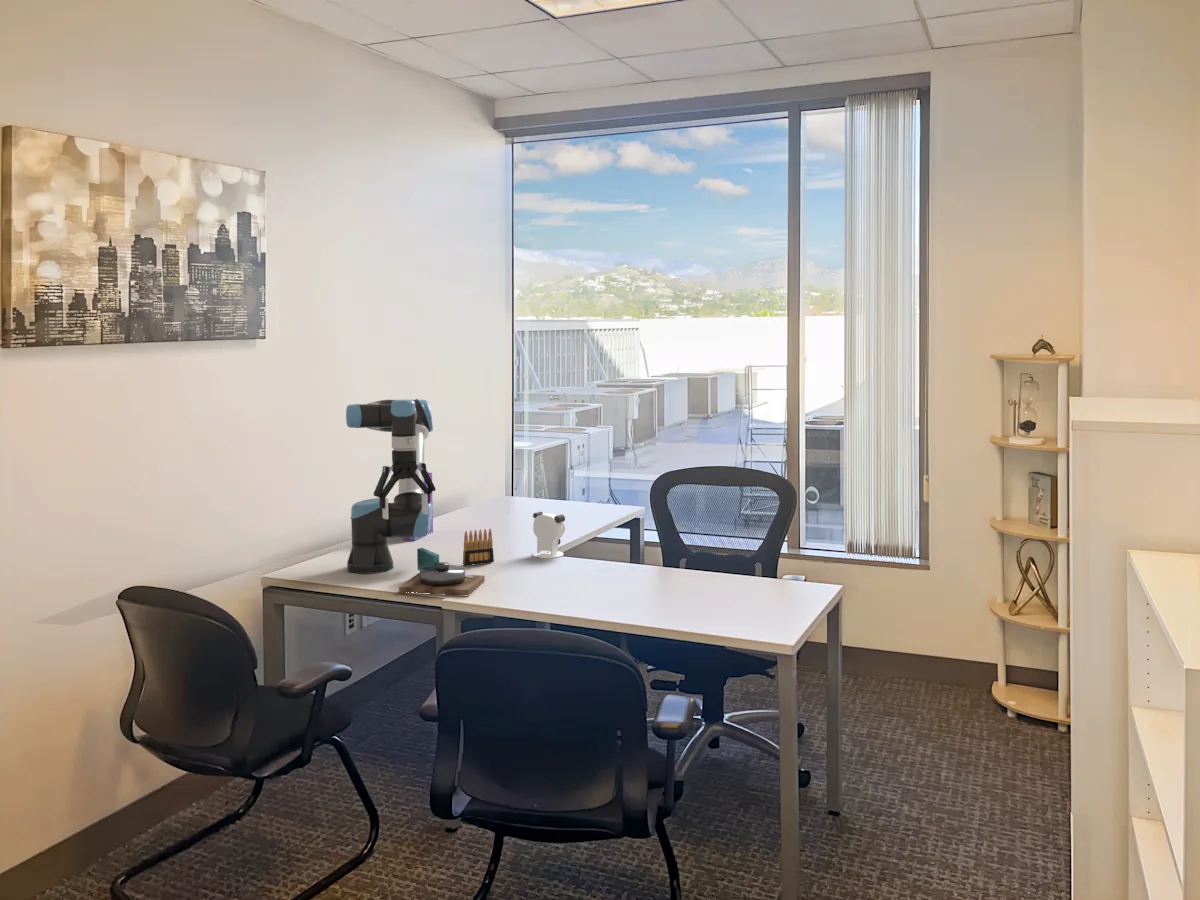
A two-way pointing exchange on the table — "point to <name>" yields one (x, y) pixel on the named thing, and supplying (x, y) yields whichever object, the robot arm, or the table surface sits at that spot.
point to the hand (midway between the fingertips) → (405, 516)
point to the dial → (437, 569)
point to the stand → (443, 586)
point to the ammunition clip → (478, 548)
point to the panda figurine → (548, 533)
